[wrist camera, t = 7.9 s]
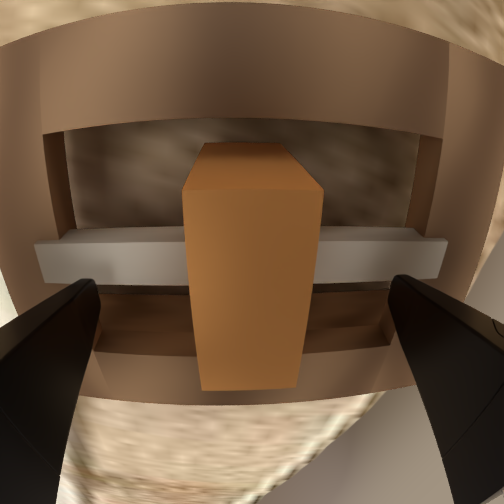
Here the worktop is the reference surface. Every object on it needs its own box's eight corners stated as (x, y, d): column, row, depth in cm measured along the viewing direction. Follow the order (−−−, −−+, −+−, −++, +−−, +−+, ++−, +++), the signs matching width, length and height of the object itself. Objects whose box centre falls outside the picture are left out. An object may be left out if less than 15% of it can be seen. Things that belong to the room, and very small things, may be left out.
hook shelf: (429, 67, 13) (518, 71, 7) (385, 313, 21) (426, 386, 15) (49, 61, 12) (-36, 60, 6) (89, 317, 19) (54, 395, 13)
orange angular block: (280, 143, 13) (324, 190, 7) (273, 279, 16) (295, 387, 10) (204, 143, 12) (181, 190, 7) (209, 280, 15) (201, 390, 10)
